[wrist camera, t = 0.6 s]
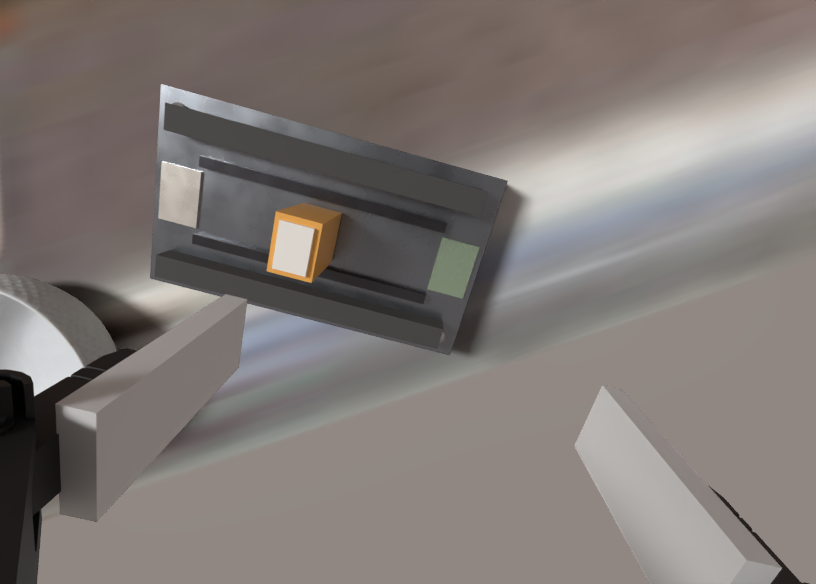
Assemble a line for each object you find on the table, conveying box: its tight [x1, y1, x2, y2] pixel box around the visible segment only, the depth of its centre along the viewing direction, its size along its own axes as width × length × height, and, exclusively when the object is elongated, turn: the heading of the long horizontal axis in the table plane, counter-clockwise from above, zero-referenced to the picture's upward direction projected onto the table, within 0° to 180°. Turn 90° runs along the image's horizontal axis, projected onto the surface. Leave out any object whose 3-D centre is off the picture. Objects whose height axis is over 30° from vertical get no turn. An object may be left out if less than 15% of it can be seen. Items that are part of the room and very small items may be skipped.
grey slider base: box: [150, 84, 508, 355], centre depth 32 cm, size 15×26×4 cm, turn 75°
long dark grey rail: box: [163, 102, 487, 217], centre depth 28 cm, size 2×23×2 cm, turn 75°
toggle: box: [267, 203, 342, 283], centre depth 28 cm, size 4×3×6 cm
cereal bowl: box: [0, 274, 117, 396], centre depth 35 cm, size 17×17×7 cm
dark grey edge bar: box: [155, 250, 444, 349], centre depth 32 cm, size 2×23×2 cm, turn 75°
